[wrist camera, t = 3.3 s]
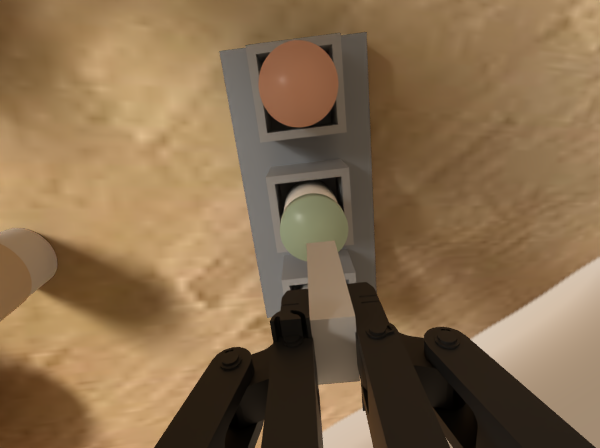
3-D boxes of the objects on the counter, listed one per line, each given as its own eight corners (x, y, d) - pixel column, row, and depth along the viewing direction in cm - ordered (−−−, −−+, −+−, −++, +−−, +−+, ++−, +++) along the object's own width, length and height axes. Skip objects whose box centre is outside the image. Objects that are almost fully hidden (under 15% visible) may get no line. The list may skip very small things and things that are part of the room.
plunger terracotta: (263, 62, 23) (252, 45, 17) (325, 54, 23) (335, 35, 17) (272, 127, 25) (264, 131, 19) (330, 120, 25) (341, 122, 19)
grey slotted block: (227, 57, 28) (201, 36, 21) (359, 40, 28) (382, 13, 20) (269, 302, 37) (262, 350, 29) (370, 291, 37) (390, 337, 29)
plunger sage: (280, 182, 26) (275, 201, 20) (335, 175, 26) (346, 193, 20) (287, 233, 28) (284, 265, 22) (339, 227, 28) (350, 258, 22)
